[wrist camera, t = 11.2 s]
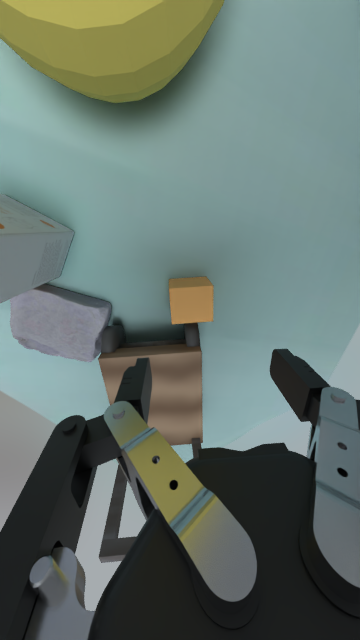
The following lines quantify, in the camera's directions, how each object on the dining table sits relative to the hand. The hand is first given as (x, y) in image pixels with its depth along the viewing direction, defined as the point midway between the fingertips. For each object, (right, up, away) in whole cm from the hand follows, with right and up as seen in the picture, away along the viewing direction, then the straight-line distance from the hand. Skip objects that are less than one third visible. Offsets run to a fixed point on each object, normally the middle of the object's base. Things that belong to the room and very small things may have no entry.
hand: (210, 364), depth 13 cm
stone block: (-18, +3, +16) cm, 24 cm away
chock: (-1, +7, +15) cm, 16 cm away
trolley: (-5, -6, +20) cm, 22 cm away
